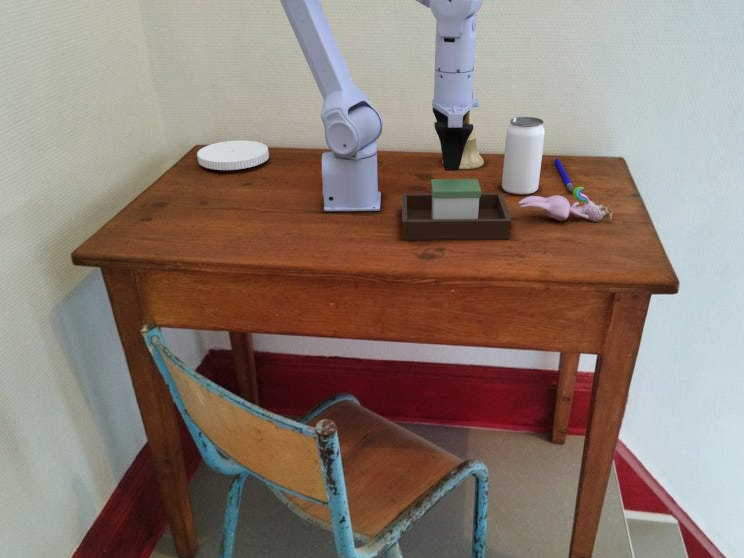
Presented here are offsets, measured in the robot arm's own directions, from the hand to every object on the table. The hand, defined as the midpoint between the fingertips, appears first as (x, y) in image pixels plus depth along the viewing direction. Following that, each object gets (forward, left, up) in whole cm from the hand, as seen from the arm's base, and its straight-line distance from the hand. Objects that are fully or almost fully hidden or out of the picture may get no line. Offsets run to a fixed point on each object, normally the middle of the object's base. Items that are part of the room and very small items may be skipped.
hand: (450, 161), depth 103 cm
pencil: (+23, +19, -9) cm, 31 cm away
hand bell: (+5, +28, -10) cm, 30 cm away
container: (+1, -3, -9) cm, 9 cm away
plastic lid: (-41, +29, -10) cm, 51 cm away
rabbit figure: (+19, -1, -10) cm, 21 cm away
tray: (+1, -3, -9) cm, 10 cm away
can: (+14, +13, -10) cm, 21 cm away
